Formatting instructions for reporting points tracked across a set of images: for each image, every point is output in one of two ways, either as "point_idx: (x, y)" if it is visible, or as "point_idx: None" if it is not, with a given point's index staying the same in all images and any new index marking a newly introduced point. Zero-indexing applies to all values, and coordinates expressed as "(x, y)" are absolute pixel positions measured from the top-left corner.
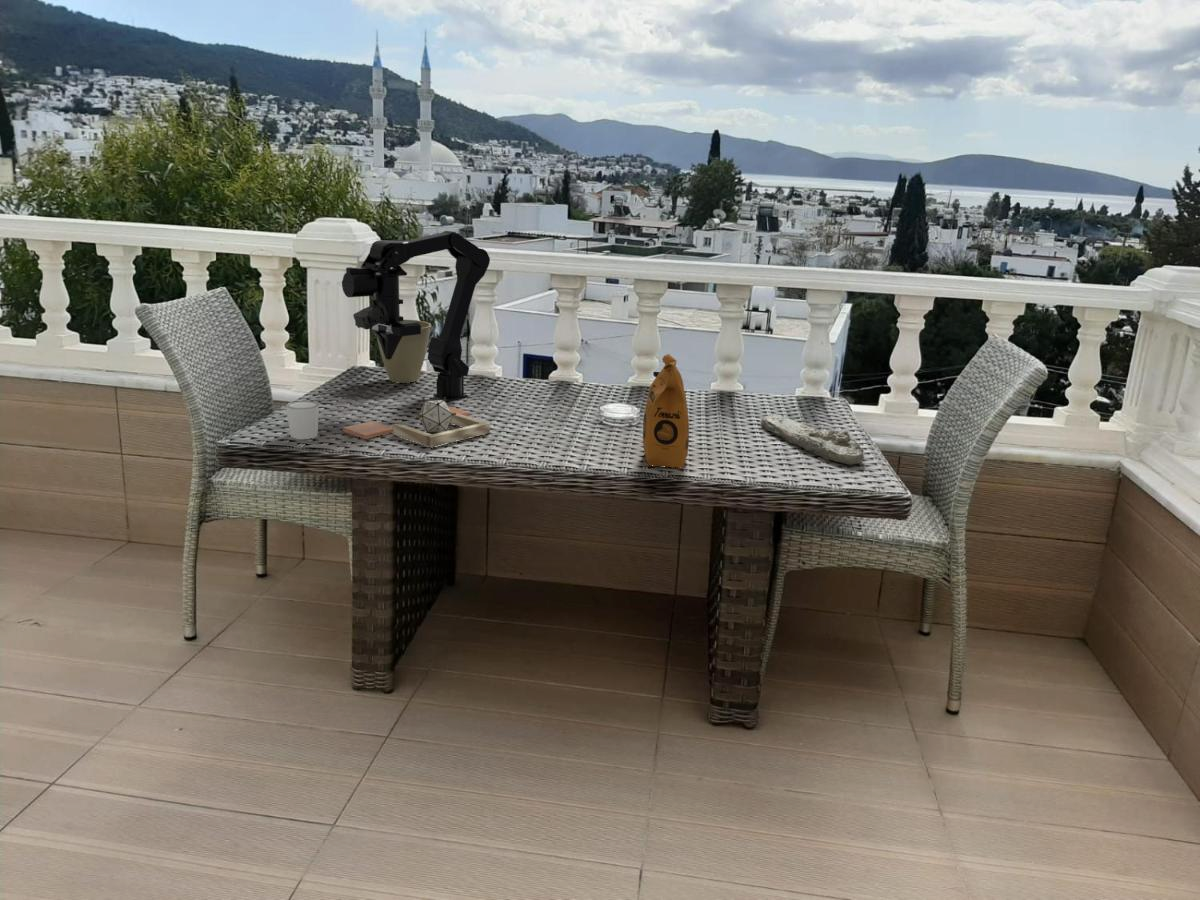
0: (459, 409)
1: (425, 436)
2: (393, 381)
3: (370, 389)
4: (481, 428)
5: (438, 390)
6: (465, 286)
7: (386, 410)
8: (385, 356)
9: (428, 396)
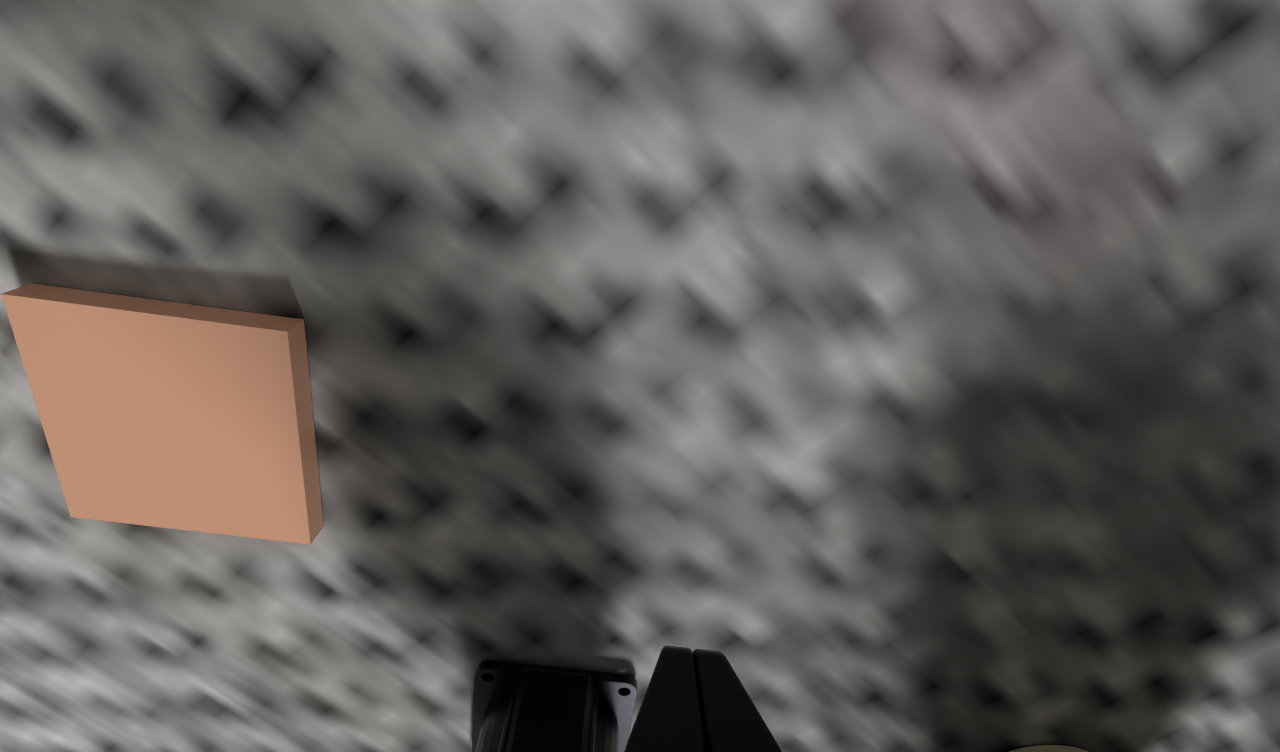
0: (168, 526)
1: None
2: (1062, 749)
3: (1104, 574)
4: None
5: (565, 706)
6: None
7: (603, 240)
8: (725, 683)
9: None
